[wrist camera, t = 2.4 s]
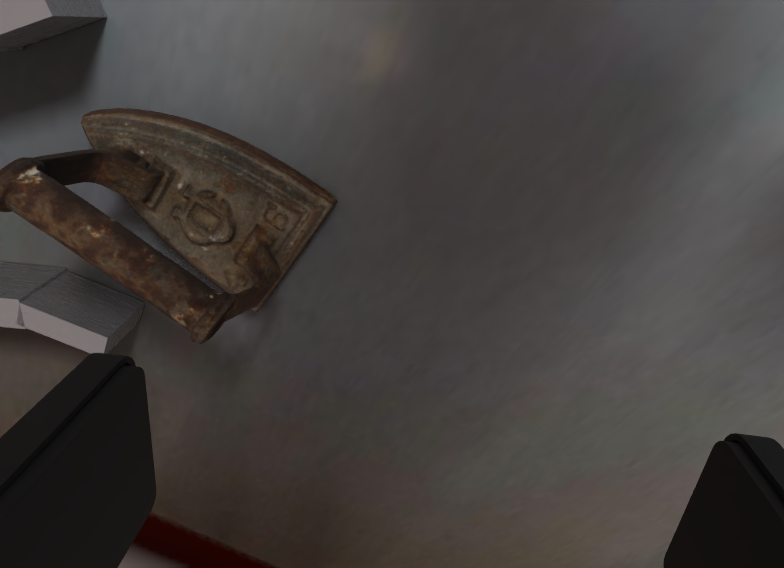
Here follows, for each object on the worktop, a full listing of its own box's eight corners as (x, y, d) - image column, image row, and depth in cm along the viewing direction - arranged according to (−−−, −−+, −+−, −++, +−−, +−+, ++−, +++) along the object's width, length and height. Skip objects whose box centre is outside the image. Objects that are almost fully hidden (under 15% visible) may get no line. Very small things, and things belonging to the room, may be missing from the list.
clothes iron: (278, 311, 28) (136, 421, 19) (113, 168, 29) (-101, 213, 20) (351, 209, 25) (220, 286, 16) (164, 49, 25) (-66, 39, 16)
